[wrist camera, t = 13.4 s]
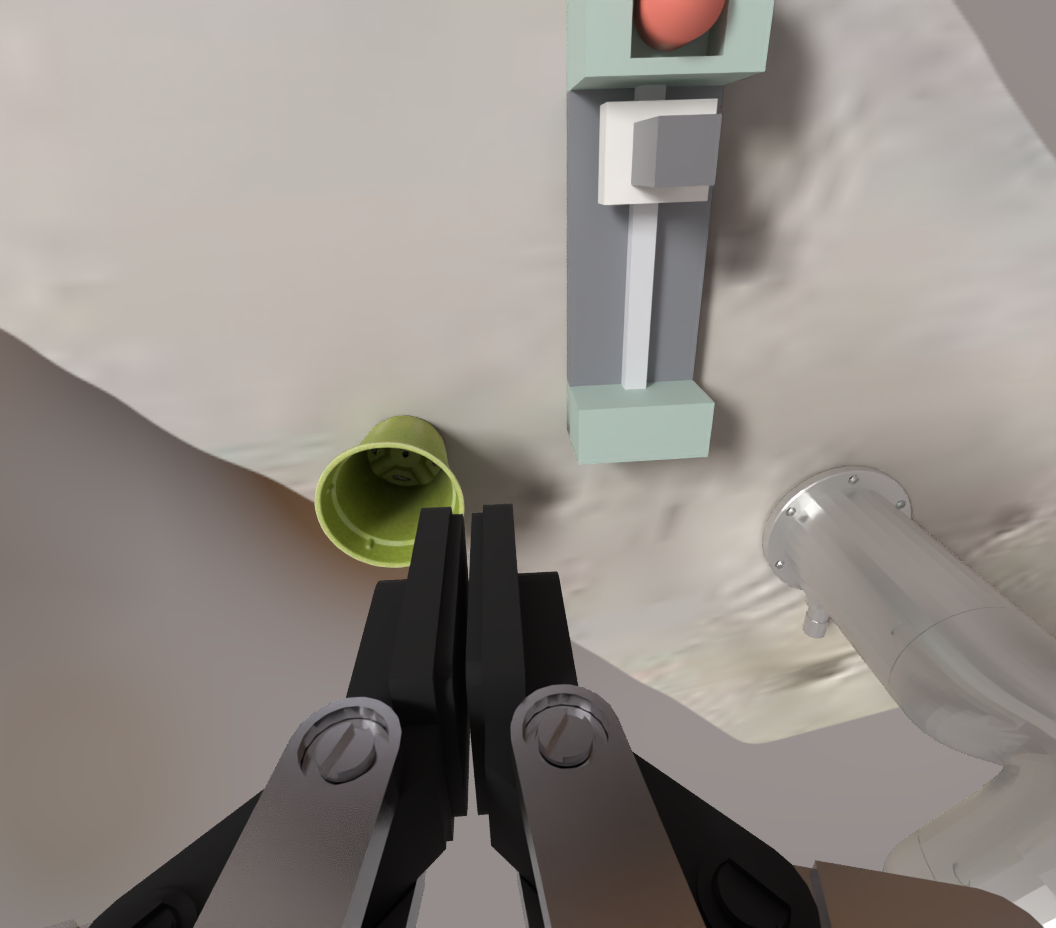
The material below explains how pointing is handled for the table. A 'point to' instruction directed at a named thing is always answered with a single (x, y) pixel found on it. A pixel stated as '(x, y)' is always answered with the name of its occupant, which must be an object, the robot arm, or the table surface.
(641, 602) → the table surface
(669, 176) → the carriage
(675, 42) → the button
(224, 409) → the table surface
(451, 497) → the plant pot
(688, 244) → the rail track
